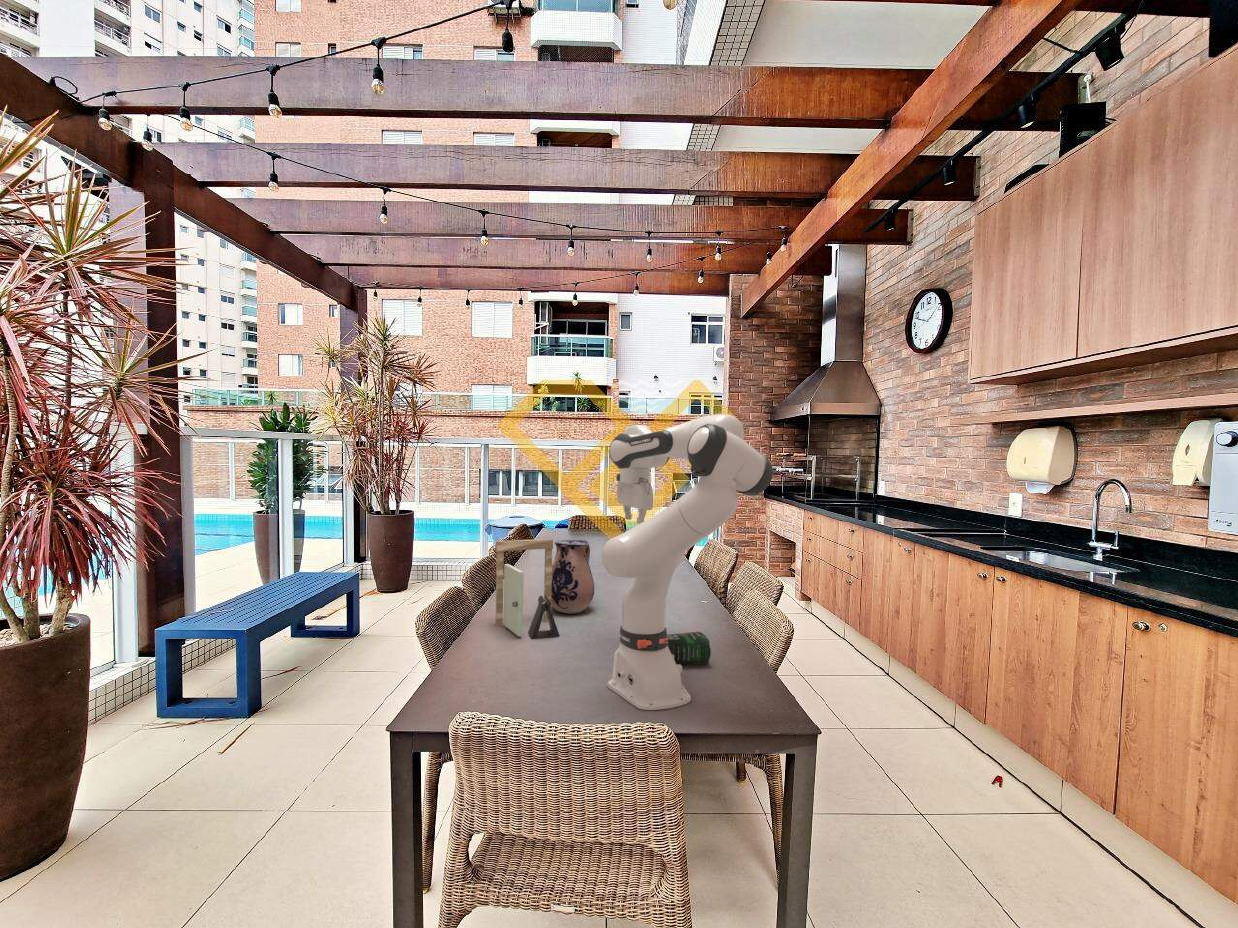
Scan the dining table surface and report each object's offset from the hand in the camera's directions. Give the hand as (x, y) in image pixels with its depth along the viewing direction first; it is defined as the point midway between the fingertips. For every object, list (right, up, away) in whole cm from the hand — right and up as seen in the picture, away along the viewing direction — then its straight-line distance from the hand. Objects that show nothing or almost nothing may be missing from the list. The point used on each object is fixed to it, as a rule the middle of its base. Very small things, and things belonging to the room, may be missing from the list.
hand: (634, 521), depth 174 cm
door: (-39, -35, +5) cm, 53 cm away
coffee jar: (+20, -34, -15) cm, 42 cm away
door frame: (-37, -36, +16) cm, 54 cm away
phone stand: (-29, -37, +4) cm, 47 cm away
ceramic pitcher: (-22, -36, +32) cm, 53 cm away
